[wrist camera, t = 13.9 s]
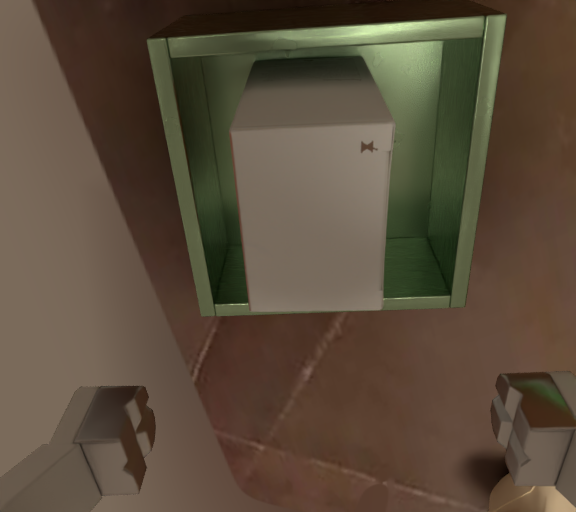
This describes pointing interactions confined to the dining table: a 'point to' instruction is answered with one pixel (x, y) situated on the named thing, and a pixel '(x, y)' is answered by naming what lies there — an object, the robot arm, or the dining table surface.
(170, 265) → the dining table surface
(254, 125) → the small box
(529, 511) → the figurine
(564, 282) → the dining table surface
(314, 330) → the dining table surface
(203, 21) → the open box
